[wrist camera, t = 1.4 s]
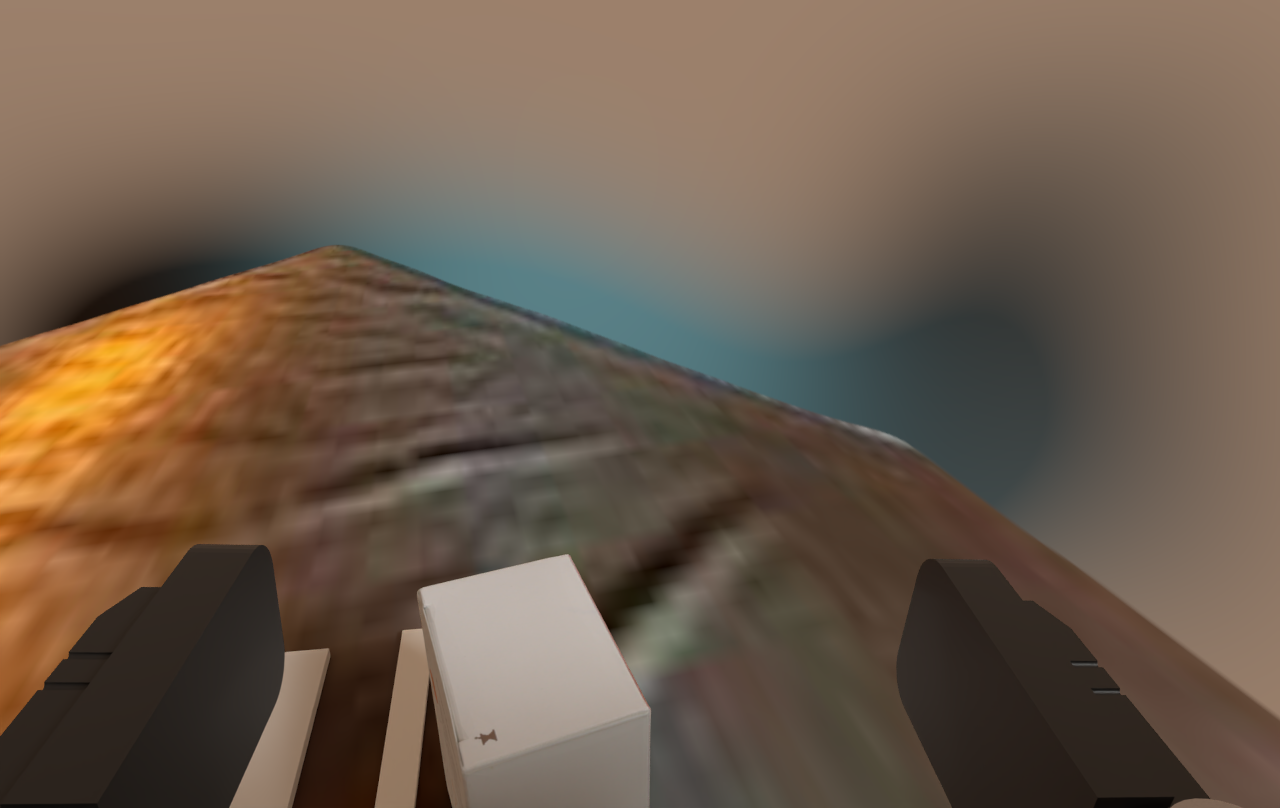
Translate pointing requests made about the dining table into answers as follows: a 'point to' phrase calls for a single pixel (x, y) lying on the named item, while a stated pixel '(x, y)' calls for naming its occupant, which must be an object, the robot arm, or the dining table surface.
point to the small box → (533, 693)
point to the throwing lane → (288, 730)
